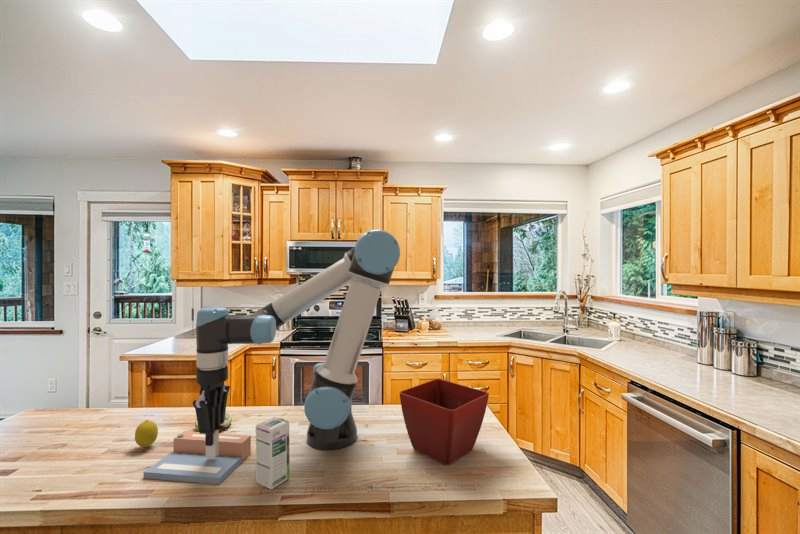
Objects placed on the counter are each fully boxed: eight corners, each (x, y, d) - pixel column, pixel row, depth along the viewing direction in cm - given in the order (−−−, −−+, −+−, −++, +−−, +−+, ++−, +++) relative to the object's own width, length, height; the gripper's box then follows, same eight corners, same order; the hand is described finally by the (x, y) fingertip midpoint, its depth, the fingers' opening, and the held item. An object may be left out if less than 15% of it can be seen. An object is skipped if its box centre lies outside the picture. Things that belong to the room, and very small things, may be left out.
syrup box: (271, 490, 89) (271, 429, 89) (254, 482, 92) (255, 423, 92) (289, 478, 94) (290, 421, 94) (274, 471, 97) (274, 415, 97)
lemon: (146, 453, 105) (146, 424, 105) (129, 451, 106) (129, 423, 106) (162, 444, 111) (162, 417, 111) (146, 442, 112) (146, 415, 112)
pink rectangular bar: (250, 453, 106) (250, 434, 106) (242, 461, 102) (242, 441, 102) (184, 448, 108) (184, 430, 108) (173, 456, 104) (173, 437, 104)
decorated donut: (234, 430, 121) (234, 418, 121) (196, 438, 115) (197, 426, 115) (228, 418, 130) (228, 407, 129) (193, 426, 123) (193, 414, 123)
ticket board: (241, 462, 101) (241, 456, 101) (219, 484, 91) (219, 477, 91) (172, 457, 103) (172, 451, 103) (143, 478, 93) (143, 471, 93)
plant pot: (489, 449, 110) (490, 392, 110) (451, 476, 96) (452, 410, 96) (437, 429, 123) (437, 377, 123) (396, 450, 109) (397, 392, 109)
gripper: (213, 359, 106) (213, 442, 106) (182, 373, 93) (182, 468, 93) (238, 360, 105) (238, 444, 106) (211, 374, 92) (210, 469, 93)
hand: (212, 455), depth 100 cm, fingers closed
